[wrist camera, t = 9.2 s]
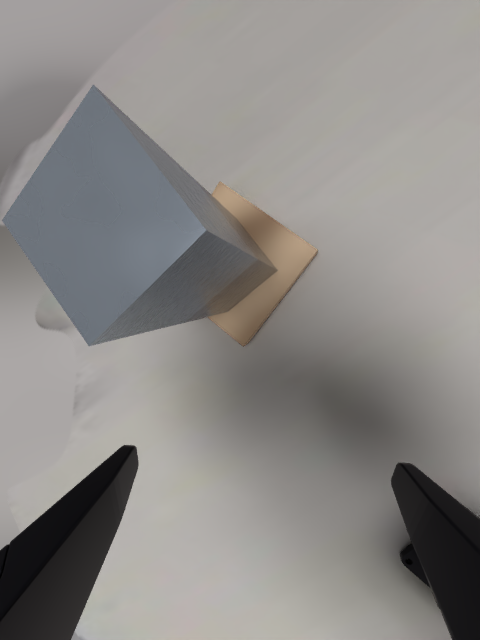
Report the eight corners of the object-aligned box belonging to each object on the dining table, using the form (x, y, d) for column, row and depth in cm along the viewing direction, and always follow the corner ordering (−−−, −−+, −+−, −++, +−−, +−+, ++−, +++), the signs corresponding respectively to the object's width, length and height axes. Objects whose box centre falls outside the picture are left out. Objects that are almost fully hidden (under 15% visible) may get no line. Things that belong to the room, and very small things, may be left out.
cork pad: (317, 252, 19) (317, 249, 18) (248, 343, 21) (243, 346, 20) (226, 188, 21) (219, 181, 19) (170, 280, 23) (161, 279, 21)
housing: (277, 270, 19) (206, 230, 6) (227, 311, 20) (89, 346, 8) (236, 218, 19) (93, 84, 7) (190, 262, 20) (2, 220, 8)
